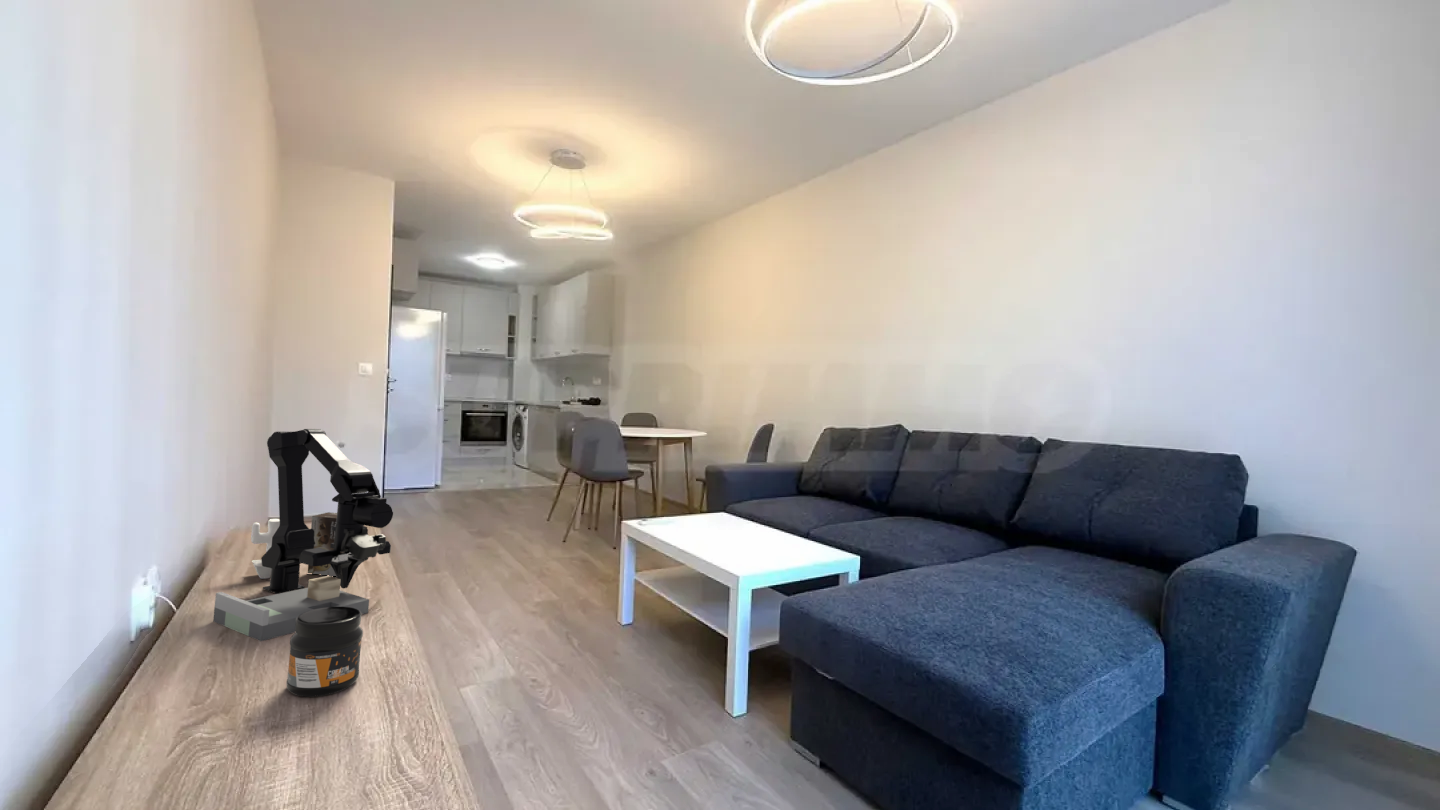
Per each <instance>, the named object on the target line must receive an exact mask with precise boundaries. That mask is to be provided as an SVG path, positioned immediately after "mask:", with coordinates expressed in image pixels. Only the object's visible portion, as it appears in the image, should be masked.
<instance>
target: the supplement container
mask: <svg viewBox="0 0 1440 810" xmlns="http://www.w3.org/2000/svg"><path fill="white" fill-rule="evenodd" d="M361 621H362V614H361V612H360V611H359V610H358V609H355V608H351V607H326V608H319V609H314V610H311V611H307V612H305V613H303V614H301V615H299V616H298V617H297V618H296V622H295V631H296V632H294V634H292V636H291V637H290V640H289V645H290V646H289V648H290V649H289V661H288V670H287V677H286V678H287V679H286V688H287V690H288V692H290V693H291V694H293V695H296V696H298V697H299V696H300V697H305V698H306V697H307V698H308V697H309V698H313V697H314V698H315V697H323V696H329V695H332V694H336V693H338V692H342V691H344V690H345V689H348V688H349V687H350V686H352V685H353V684H355V682H356V681H357V680H358V678H359V676H360V661H361V649H362V640H363V639H362V638H363V635H364V631H363V629H362V627H361V626H360V625H361V623H362V622H361Z"/></svg>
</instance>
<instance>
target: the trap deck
mask: <svg viewBox="0 0 1440 810" xmlns="http://www.w3.org/2000/svg"><path fill="white" fill-rule="evenodd" d="M307 594H308V587H304V588H303V589H298V590H294V591H289V592H284V593H279V594H275V593H274V594H271V595H270V594H269V595H267V596H261V597H256V598H251V599H248V600H245V599H241V598H240V597H236V596H233V595H231V594H228V593H226V592H223V591H219V592H215V598H214V610H213V621H212V622H214V623H216V624H219V625H220V626H224V627H226V628H228V629H230V630H232V631H234V632H235V631H236V632H237V633H240V634H243V635H245V636H247V637H250V638H252V639H255V640H257V641H259V642H264V641H267V640H271V639H275V638H279V637H283V636H286V635H289V634H293V633H294V634H295V633H296V631H295V622H296V618H297V617H298V616H299V615H301V614H303V613H305V612H307V611H311V610H314V609H319V608H326V607H351V608H355V609H358V610H359V611H360V612H361V615H364V614H368V613H369V607H370V599H368V598H366V597H362V596H359V595H356V594H352V593H349V592H347V591H344V590H341V589H340V594H339V597H335V598H331V599H326V600H322V601H317V600H314V599H311V598H308V597H307Z"/></svg>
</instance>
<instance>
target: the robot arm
mask: <svg viewBox="0 0 1440 810" xmlns="http://www.w3.org/2000/svg"><path fill="white" fill-rule="evenodd" d="M266 445H267V450H268V456H269V459H270V460H271V461H272V462H273V464H274V465H275V467H277V480H278V481H277V482H278V484H277V485H278V509H279V511H278V512H279V513H278V514H279V516H278V517H279V519H280V526H279V527H278V529H277V531H276V532H275V534H274V535H273V537H272V547H271V548H270V549H269V550H268V551H267V552H266V551H265V553H264V555H262V556H261V559H260V560H262V566H264V567H268V568H271V577H270V578H269V579H270V580H269V585H266V586H263V587H262V590H264V591H266V592H270V593H273V594H274V595H275V594H280V593H285V592H289V591H294V590H299V589H304V588H305V586H304V585H303V584H300V582H299V581H300V569H301V568H300V567H301V565H300V564H304V565H306V566H308V565H310V566H321V565H326V564H329V563H330V565H331V567H332V568H333V570H334V572H335V574H336V576H337V577H336V578H339V579H341V583H340V589H341V588H342V589H347V588H348V587H349V585H350V583H351V581H352V578H353V577H354V575H355V573H356V571H357V570H358V569H359V568H358V567H359V566H360V565H361V564H362V563H364V562H365V561H368V560H369V558H375V557H377V555H385V554H391V551H392V544H391V543H390V541H388V540H387V537H386V535H385V534H383V533H382V534H381V533H379V534H375V535H369V529H368V527H371V528H377V529H383V528H385V527H387V526H388V525H389V524H390V522H392V519H393V518H394V517H393V515H394V511H393V508H392V506H391V505H390V504H388V503H387V499H388V498H385V497H382V496H381V493H380V489H379V487H378V486H377V483H376V481H375V479H374V478H375V477H374V475H373V473H372V472H371V470H370V469H368V468H367V467H365V466H364V465H362V464H360V463H356V462H354V461H352V460H350V459H349V458H348V457H347V456H346V455H345V454H344V452H342V451H341V450H340V448H339V447H337V445H336V444H335V443H334V442H333V441H332V440H331V439H330V438H329V437H328V436H327V434H326V431H325V430H323V429H321V428H304V429H300V430H296V431H274V432H273V433H272V434H271V435H270V436H269V437H268V439H267V441H266ZM310 454H312V455H313V457H314V458H316V460H318V462H319V463H320V464H321V465H322V466H323V467H324V468H325V469H326V471H327V472H328V473H329V474H330V480H329V481H330V484H331V485H332V486H333V488H334V490H335V491H336V492H337V495H335V496H334V497H332V498H331V501H332V502H334V503H335V502H336V503H337V509H336V513H337V519H336V526H332V530H333V531H335V541H334V543H331V546H330V548H334V550H326V549H322V548H314V545H315V541H314V530H313V528H311V527H310V528H309V526H308V525H307V524H306V523H305V514H304V513H305V512H304V487H303V486H304V484H303V464H304V463H305V462H306V460H307V458H308V457H309V455H310ZM340 552H344V553H340Z"/></svg>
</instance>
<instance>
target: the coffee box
mask: <svg viewBox="0 0 1440 810" xmlns="http://www.w3.org/2000/svg"><path fill="white" fill-rule="evenodd" d="M336 519H337V512H330V511H329V512H323V513H319V514H315V515H312V516H311V523H310V524H311V525H310V529H311V528H313V530H314V541H315V545H314V548H322V549H326V550H334V548H330V546H331V543H334V541H335V531H333V530H332V526H336ZM340 553H344V552H340ZM307 573H312V574H321V575H320V576H322V575H329V576H336V574H335V572H334V570H333V568H332V567H331V565H330V563H329V564H326V565H321V566H310V565H307ZM312 574H311V575H312ZM335 578H337V576H336V577H335Z"/></svg>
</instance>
